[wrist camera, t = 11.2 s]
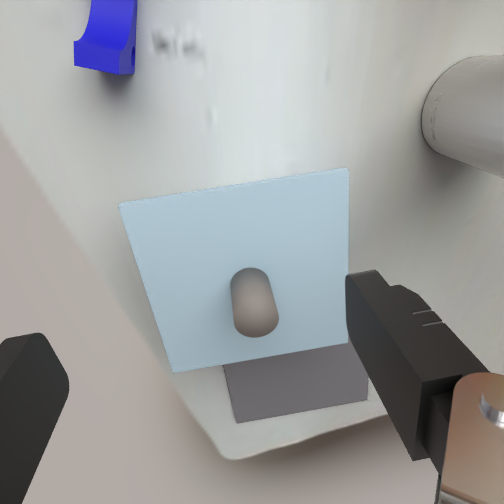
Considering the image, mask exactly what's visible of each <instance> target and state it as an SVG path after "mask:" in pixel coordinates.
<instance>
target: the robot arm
mask: <svg viewBox="0 0 504 504" xmlns="http://www.w3.org/2000/svg"><path fill="white" fill-rule="evenodd" d="M422 130H423V134H424V137H425V139H426V141H427V143H428V144H429V146H430V147H431V148H432V149H433V150H435V151H436V152H438V153H439V154H442V155H444V156H447V157H450V158H452V159H455V160H458V161H460V162H463V163H465V164H468V165H470V166H473V167H476V168H478V169H481V170H484V171H486V172H489V173H492V174H495V175H497V176H500V177H503V178H504V55H493V56H477V57H470V58H468V59H465V60H462V61H460V62H458V63H457V64H455V65H454V66H452V67H450V68H449V69H448V70H447V71H446V72H445V73H444V74H442V75H441V77H440V78H439V79H438V80H437V82H436V83H435V84H434V85H433V87H432V89H431V91H430V92H429V94H428V96H427V99H426V102H425V104H424V108H423V113H422ZM345 305H346V325H347V330H348V334H349V337H350V340H351V343H352V345H353V347H354V349H355V350H356V352H357V354H358V356H359V358H360V360H361V362H362V364H363V366H364V368H365V370H366V372H367V374H368V376H369V378H370V379H371V381H372V383H373V385H374V387H375V389H376V391H377V393H378V395H379V397H380V399H381V401H382V403H383V405H384V406H385V408H386V410H387V412H388V414H389V416H390V418H391V420H392V422H393V424H394V426H395V428H396V430H397V432H398V433H399V435H400V437H401V439H402V441H403V443H404V445H405V447H406V449H407V451H408V453H409V455H410V457H411V459H412V461H416V460H421V459H425V458H430V459H431V461H432V462H433V464H434V466H435V468H436V469H437V471H438V473H439V474H438V480H437V487H436V494H435V502H434V504H504V375H500V374H495V373H491V372H490V371H488V370H487V368H486V367H485V366H484V365H483V364H482V363H481V362H480V361H479V360H478V359H477V358H476V357H475V355H474V354H473V353H472V352H471V351H470V350H469V349H468V348H467V347H466V346H465V345H464V344H463V342H462V341H461V340H460V339H459V338H458V337H457V336H456V335H455V334H454V333H453V332H452V331H451V329H450V328H449V327H448V326H447V325H446V324H445V323H442V320H441V319H440V318H439V316H438V315H437V314H436V313H435V312H434V311H431V308H430V307H429V306H428V305H427V303H426V302H425V301H424V300H423V299H422V298H421V297H420V296H419V295H418V294H416V293H414V292H413V291H411V290H409V289H407V288H405V287H403V286H401V285H395V286H389V284H388V283H387V282H386V281H385V280H384V278H383V277H382V276H381V275H380V274H379V272H378V271H376V270H371V271H365V272H360V273H355V274H349V275H346V277H345ZM68 393H69V380H68V376H67V373H66V371H65V370H64V368H63V366H62V364H61V363H60V361H59V359H58V357H57V356H56V354H55V352H54V351H53V349H52V347H51V345H50V343H49V342H48V340H47V339H46V337H45V336H44V335H43V334H41V333H33V334H28V335H22V336H18V337H12V338H7V339H5V340H4V341H3V342H2V343H1V344H0V504H22V502H23V500H24V497H25V495H26V493H27V490H28V488H29V486H30V483H31V481H32V479H33V476H34V474H35V472H36V469H37V467H38V465H39V462H40V460H41V458H42V455H43V453H44V451H45V448H46V446H47V444H48V442H49V439H50V437H51V435H52V432H53V430H54V428H55V425H56V423H57V421H58V418H59V416H60V414H61V411H62V409H63V407H64V404H65V402H66V400H67V397H68Z"/></svg>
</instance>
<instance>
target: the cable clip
mask: <svg viewBox="0 0 504 504" xmlns="http://www.w3.org/2000/svg"><path fill="white" fill-rule="evenodd" d="M136 21H137V0H92V1H91V10H90V16H89V21H88V24H87V28H86V30H85V33H84V34H83V36H82V37H81V39H79V40H78V41H74V65H75V66H79V67H84V68H89V69H94V70H99V71H104V72H109V73H114V74H118V75H121V74H134V71H135V46H136Z"/></svg>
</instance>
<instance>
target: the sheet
mask: <svg viewBox="0 0 504 504" xmlns="http://www.w3.org/2000/svg"><path fill="white" fill-rule="evenodd" d="M118 208H119V211H120V214H121V217H122V220H123V223H124V226H125V229H126V232H127V235H128V238H129V241H130V244H131V247H132V250H133V254H134V257H135V260H136V263H137V266H138V269H139V272H140V275H141V278H142V281H143V284H144V287H145V290H146V293H147V296H148V299H149V302H150V305H151V308H152V311H153V314H154V317H155V320H156V323H157V326H158V329H159V332H160V335H161V338H162V341H163V344H164V347H165V350H166V353H167V356H168V359H169V362H170V365H171V368H172V371H173V373H178V372H184V371H189V370H195V369H201V368H206V367H212V366H218V365H224V364H229V363H235V362H241V361H246V360H252V359H258V358H263V357H269V356H275V355H280V354H286V353H292V352H298V351H303V350H309V349H315V348H320V347H326V346H332V345H337V344H343V343H348V330H347V325H346V305H345V277H346V275H348V230H349V170H348V169H347V168H346V167H344V168H337V169H331V170H325V171H318V172H312V173H306V174H299V175H293V176H287V177H280V178H274V179H268V180H261V181H255V182H248V183H242V184H236V185H229V186H223V187H217V188H210V189H204V190H198V191H191V192H185V193H179V194H172V195H166V196H160V197H153V198H147V199H141V200H134V201H128V202H122V203H120V204H119V205H118Z"/></svg>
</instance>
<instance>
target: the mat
mask: <svg viewBox="0 0 504 504" xmlns="http://www.w3.org/2000/svg"><path fill="white" fill-rule="evenodd" d="M223 366H224V371H225V375H226V379H227V384H228V388H229V392H230V397H231V401H232V405H233V409H234V414H235V418H236V422H237V424H238V423H243V422H249V421H254V420H260V419H265V418H271V417H276V416H282V415H287V414H293V413H298V412H304V411H309V410H315V409H320V408H326V407H331V406H337V405H342V404H348V403H353V402H359V401H364V400H367V396H368V374H367V372H366V370H365V368H364V366H363V364H362V362H361V360H360V358H359V356H358V354H357V352H356V350H355V349H354V347H353V345H352V343H351V340H350V337H349V334H348V343H343V344H337V345H332V346H326V347H320V348H315V349H309V350H303V351H298V352H292V353H286V354H280V355H275V356H269V357H263V358H258V359H252V360H246V361H241V362H235V363H229V364H224V365H223Z"/></svg>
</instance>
